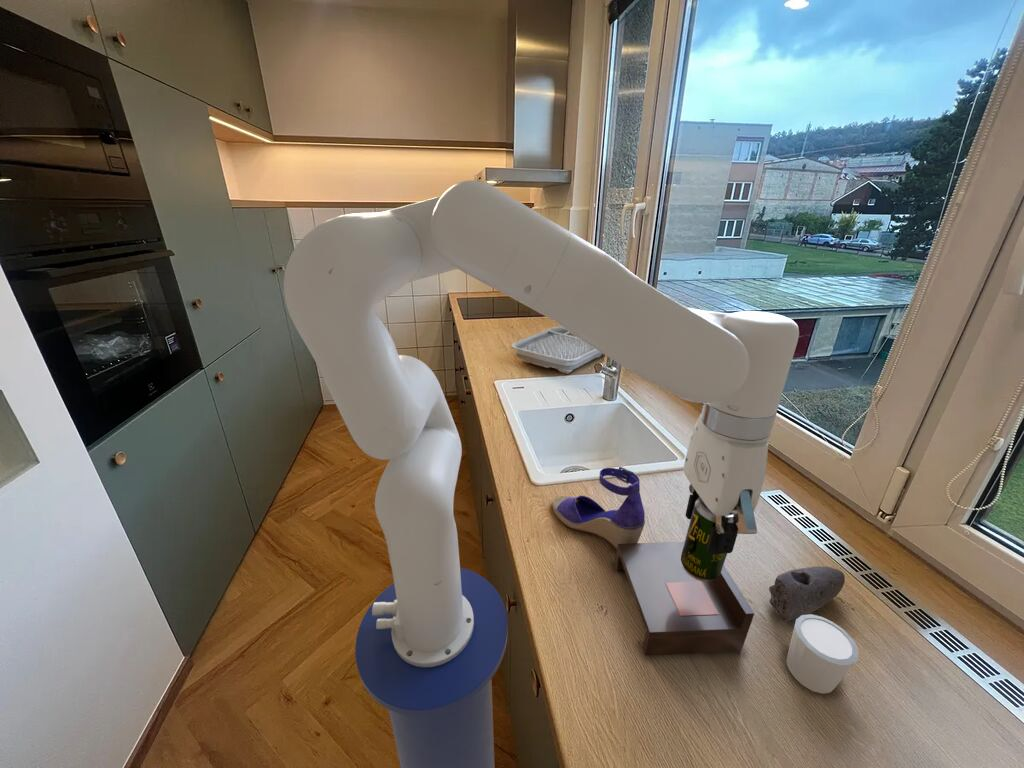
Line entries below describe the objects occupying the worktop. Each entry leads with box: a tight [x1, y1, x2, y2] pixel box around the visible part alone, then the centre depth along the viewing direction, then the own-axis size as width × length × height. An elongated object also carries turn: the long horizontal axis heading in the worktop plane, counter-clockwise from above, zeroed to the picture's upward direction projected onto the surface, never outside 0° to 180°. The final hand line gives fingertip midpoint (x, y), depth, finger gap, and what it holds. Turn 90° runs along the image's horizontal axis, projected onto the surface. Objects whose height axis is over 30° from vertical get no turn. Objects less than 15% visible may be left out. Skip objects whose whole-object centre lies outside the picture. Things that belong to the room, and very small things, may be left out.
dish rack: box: [510, 326, 604, 374], centre depth 167 cm, size 32×37×8 cm
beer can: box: [681, 496, 733, 582], centre depth 56 cm, size 5×5×12 cm
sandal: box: [552, 466, 646, 551], centre depth 78 cm, size 8×20×15 cm, turn 33°
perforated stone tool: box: [768, 565, 846, 622], centre depth 64 cm, size 15×5×7 cm, turn 108°
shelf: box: [614, 541, 755, 657], centre depth 64 cm, size 14×16×8 cm
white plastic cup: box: [786, 613, 859, 694], centre depth 55 cm, size 7×7×7 cm
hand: (707, 532), depth 56 cm, fingers closed on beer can, 5 cm apart
